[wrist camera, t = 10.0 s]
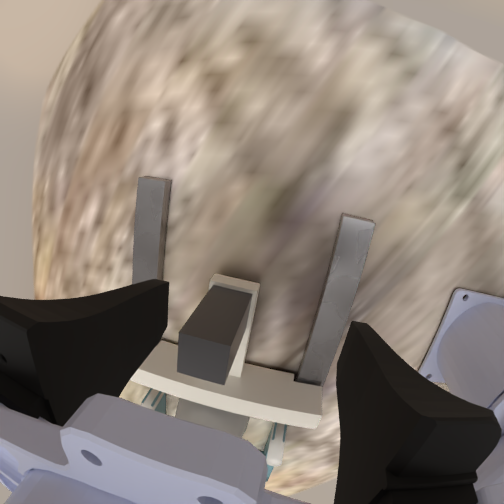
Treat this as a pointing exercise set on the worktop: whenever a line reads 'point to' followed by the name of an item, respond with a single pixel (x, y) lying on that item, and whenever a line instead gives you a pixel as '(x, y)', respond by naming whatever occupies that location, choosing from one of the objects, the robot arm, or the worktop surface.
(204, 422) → the salt shaker
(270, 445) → the frame
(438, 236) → the worktop surface
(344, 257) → the rails
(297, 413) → the pusher bar
